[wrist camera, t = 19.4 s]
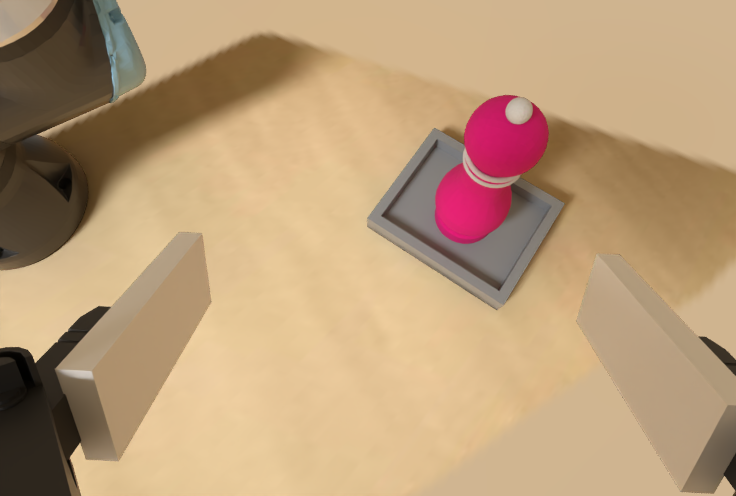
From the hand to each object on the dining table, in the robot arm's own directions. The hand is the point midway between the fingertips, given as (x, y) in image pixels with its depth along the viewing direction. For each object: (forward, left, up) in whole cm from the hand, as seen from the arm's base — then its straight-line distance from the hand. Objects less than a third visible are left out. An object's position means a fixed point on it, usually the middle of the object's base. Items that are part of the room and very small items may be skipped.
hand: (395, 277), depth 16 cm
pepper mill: (-1, +17, -31) cm, 36 cm away
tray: (-1, +17, -32) cm, 36 cm away
